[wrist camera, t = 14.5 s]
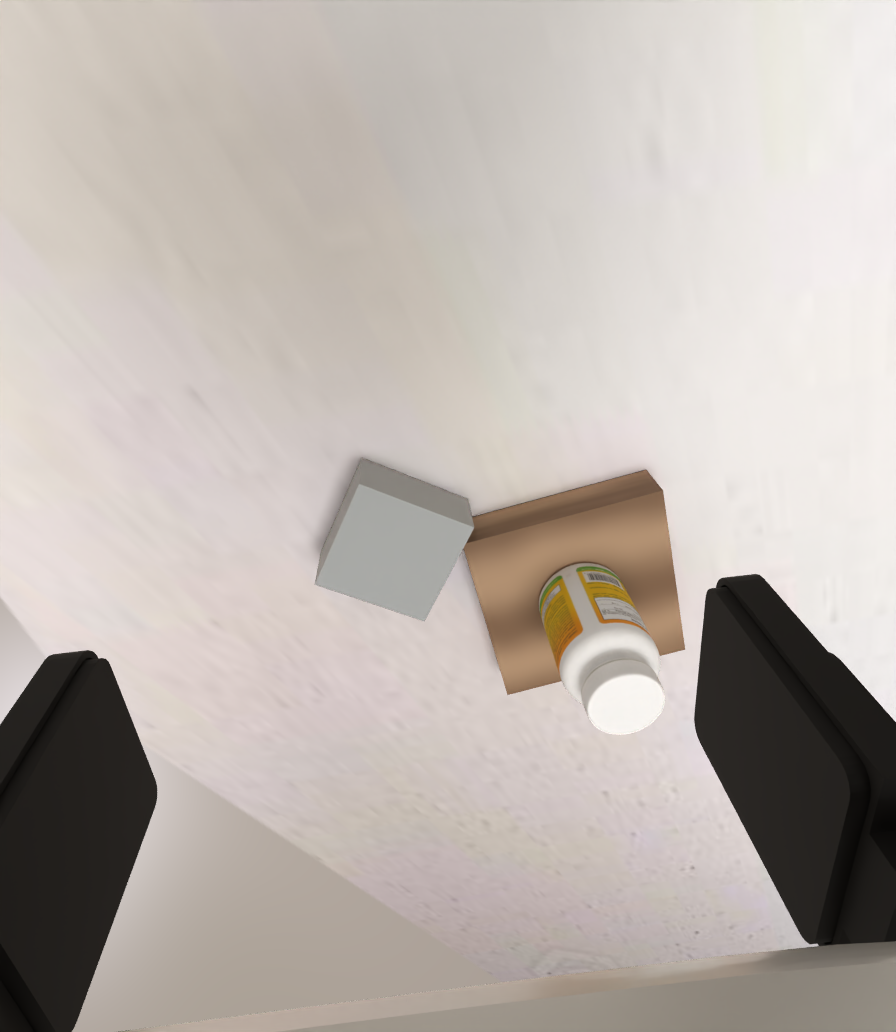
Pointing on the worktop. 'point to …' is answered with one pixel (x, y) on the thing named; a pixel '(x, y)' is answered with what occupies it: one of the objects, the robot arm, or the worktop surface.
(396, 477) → the slate block
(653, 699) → the supplement bottle
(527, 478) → the worktop surface
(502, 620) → the walnut block
